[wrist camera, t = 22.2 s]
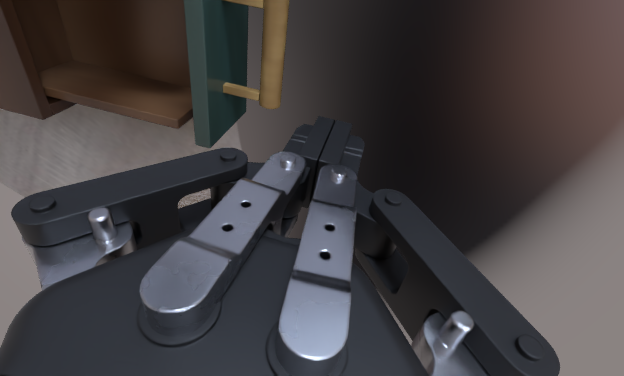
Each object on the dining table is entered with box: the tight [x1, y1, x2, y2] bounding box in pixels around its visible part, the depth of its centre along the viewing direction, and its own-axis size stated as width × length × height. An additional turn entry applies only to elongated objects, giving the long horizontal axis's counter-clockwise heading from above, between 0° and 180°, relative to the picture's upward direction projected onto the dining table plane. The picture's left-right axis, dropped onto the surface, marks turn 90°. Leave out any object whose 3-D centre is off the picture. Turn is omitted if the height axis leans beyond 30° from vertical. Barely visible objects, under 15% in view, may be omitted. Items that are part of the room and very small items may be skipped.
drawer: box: [12, 0, 289, 148], centre depth 24 cm, size 21×14×7 cm, turn 82°
